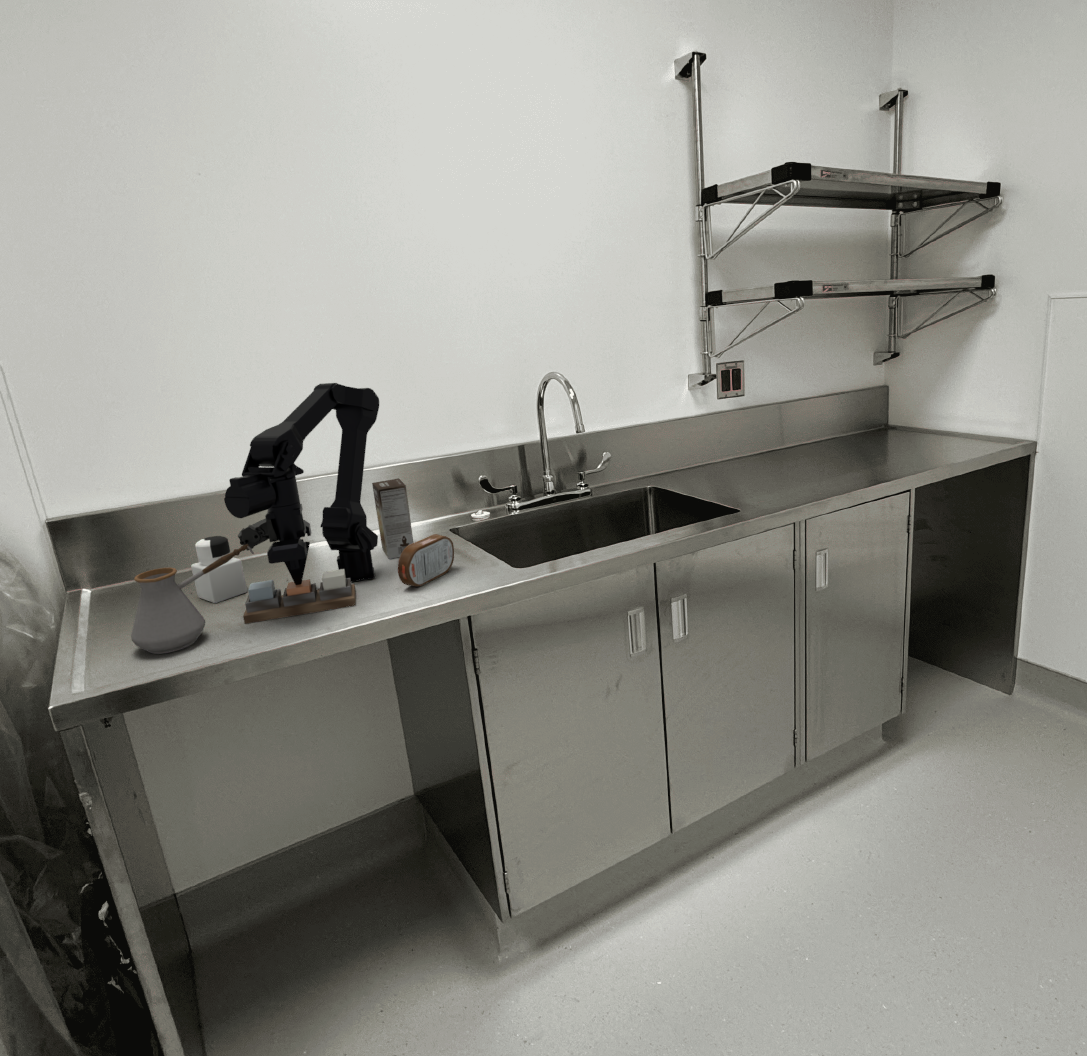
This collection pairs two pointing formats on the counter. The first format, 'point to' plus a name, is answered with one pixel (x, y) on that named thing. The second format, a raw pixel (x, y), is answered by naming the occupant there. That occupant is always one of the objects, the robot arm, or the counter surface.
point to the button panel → (300, 603)
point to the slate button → (262, 590)
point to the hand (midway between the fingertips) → (298, 584)
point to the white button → (334, 579)
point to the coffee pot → (169, 609)
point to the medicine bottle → (218, 571)
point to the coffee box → (393, 516)
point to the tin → (425, 560)
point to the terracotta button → (299, 588)
